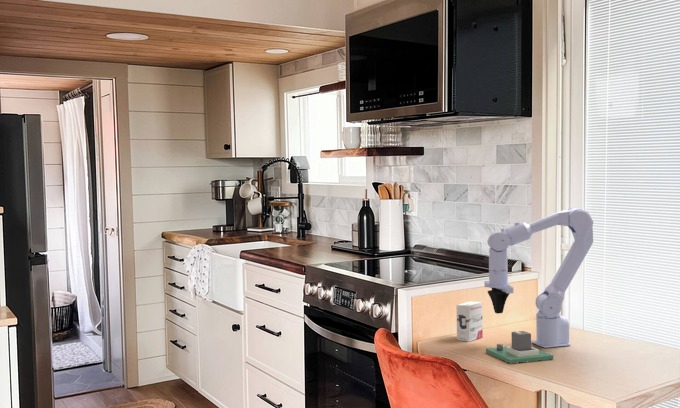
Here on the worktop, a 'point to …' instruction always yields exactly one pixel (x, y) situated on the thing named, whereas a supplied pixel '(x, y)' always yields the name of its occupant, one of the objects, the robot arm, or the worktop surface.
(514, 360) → the board
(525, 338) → the plug
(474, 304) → the ink box
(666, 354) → the worktop surface
